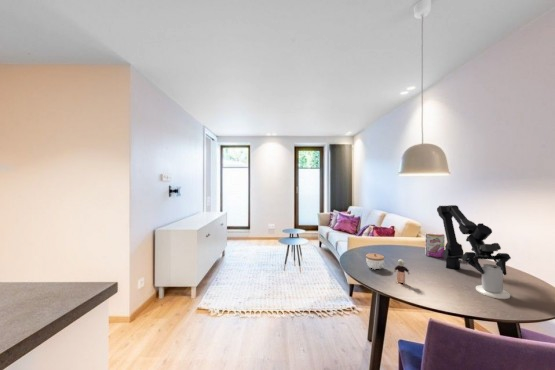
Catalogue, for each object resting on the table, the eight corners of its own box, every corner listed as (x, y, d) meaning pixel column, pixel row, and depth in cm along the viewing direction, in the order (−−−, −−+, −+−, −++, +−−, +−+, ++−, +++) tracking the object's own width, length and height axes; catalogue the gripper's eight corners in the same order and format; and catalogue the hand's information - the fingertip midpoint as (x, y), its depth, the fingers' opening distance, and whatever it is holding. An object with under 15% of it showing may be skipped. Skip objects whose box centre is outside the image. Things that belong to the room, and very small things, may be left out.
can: (505, 295, 104) (504, 269, 104) (483, 291, 108) (483, 267, 108) (500, 289, 111) (500, 264, 110) (480, 285, 115) (479, 262, 115)
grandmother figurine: (393, 283, 122) (393, 259, 121) (393, 280, 125) (393, 257, 125) (410, 285, 118) (410, 261, 118) (409, 282, 122) (409, 259, 122)
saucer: (477, 294, 108) (477, 292, 108) (474, 285, 118) (474, 283, 118) (512, 301, 101) (512, 299, 101) (507, 291, 110) (507, 289, 110)
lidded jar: (365, 270, 140) (365, 255, 140) (366, 264, 150) (365, 250, 150) (385, 272, 136) (384, 257, 136) (383, 266, 146) (383, 251, 146)
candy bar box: (426, 256, 164) (425, 233, 164) (425, 254, 168) (424, 232, 168) (445, 258, 159) (444, 234, 159) (443, 256, 164) (443, 233, 164)
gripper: (464, 236, 115) (480, 265, 104) (507, 237, 111) (528, 267, 100) (455, 247, 122) (469, 275, 112) (495, 248, 119) (513, 278, 108)
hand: (494, 274), depth 108 cm, fingers open, 9 cm apart
